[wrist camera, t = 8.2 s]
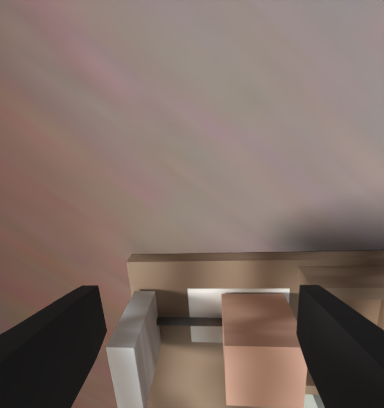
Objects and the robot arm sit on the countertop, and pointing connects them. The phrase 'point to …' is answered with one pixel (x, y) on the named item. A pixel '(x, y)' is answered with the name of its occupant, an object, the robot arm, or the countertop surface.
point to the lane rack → (238, 284)
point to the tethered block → (232, 346)
